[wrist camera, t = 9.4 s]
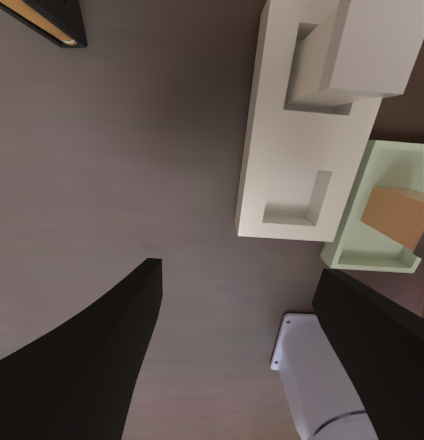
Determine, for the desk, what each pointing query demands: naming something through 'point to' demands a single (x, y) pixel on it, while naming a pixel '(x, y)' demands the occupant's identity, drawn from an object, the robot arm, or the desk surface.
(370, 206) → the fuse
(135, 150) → the desk surface
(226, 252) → the desk surface
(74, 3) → the ammunition clip
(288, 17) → the block
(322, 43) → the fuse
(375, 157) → the parts tray
